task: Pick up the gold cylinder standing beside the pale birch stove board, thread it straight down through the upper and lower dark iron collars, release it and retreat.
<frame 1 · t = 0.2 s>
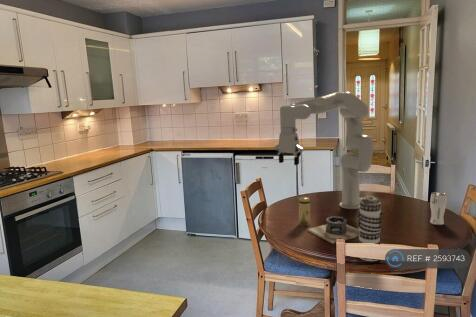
hand: (288, 163, 185), 31 cm above the table, fingers open, 9 cm apart
decorative candle: (368, 256, 148), on the table
beer glass: (436, 223, 180), on the table
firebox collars: (336, 225, 173), on the stove board, point 4 cm above the table
gold cylinder: (304, 224, 186), on the table
stove board: (336, 232, 173), on the table
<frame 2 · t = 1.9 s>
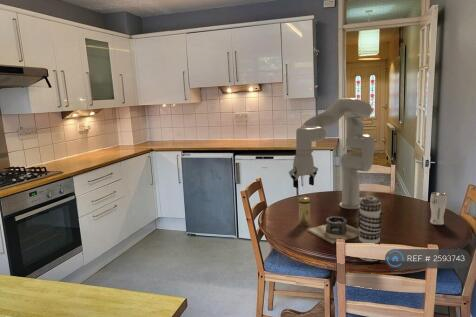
hand: (303, 186, 182), 20 cm above the table, fingers open, 9 cm apart
nothing on the table moved.
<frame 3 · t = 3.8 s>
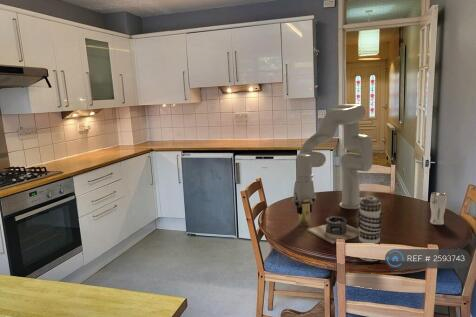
hand: (304, 212, 185), 7 cm above the table, fingers closed on gold cylinder, 5 cm apart
gold cylinder: (304, 224, 186), on the table, touching gripper
everything else where it was.
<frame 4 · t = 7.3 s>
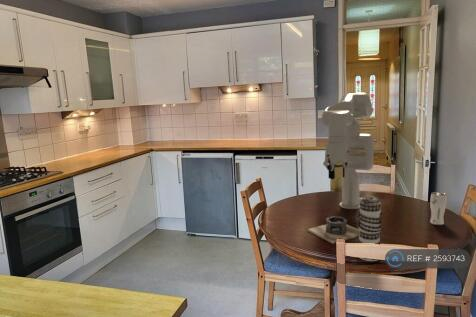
hand: (336, 177, 168), 27 cm above the table, fingers closed on gold cylinder, 5 cm apart
gold cylinder: (336, 190, 170), point 21 cm above the table, touching gripper
everything else where it was.
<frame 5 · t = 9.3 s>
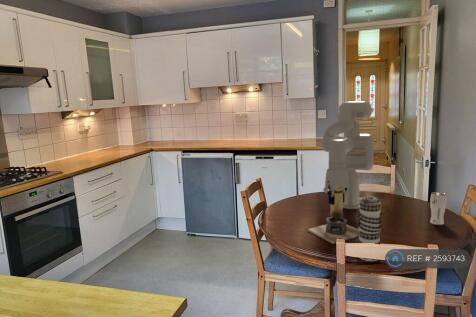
hand: (336, 202, 171), 15 cm above the table, fingers closed on gold cylinder, 5 cm apart
gold cylinder: (336, 215, 172), point 9 cm above the table, touching gripper
everything else where it was.
when the fingers open (8 cm above the table, at t = 11.1 s): gold cylinder stays where it is, resting on stove board.
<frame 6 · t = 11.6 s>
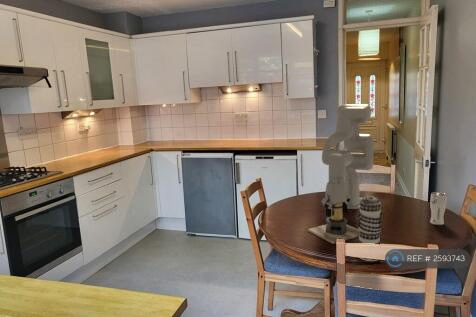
hand: (336, 214, 172), 9 cm above the table, fingers open, 9 cm apart
gold cylinder: (336, 230, 173), point 1 cm above the table, touching stove board
everything else where it was.
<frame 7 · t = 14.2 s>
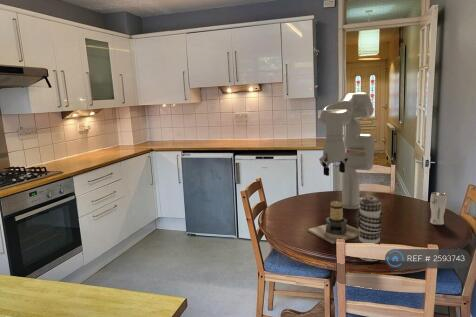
hand: (334, 173, 171), 28 cm above the table, fingers open, 9 cm apart
nothing on the table moved.
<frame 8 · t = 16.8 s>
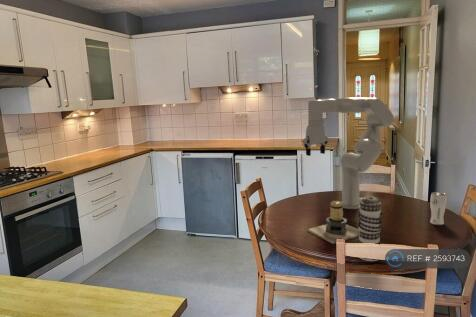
hand: (315, 154, 196), 33 cm above the table, fingers open, 9 cm apart
nothing on the table moved.
at the end: gold cylinder 0.0 cm off-centre on the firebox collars, point 1.0 cm above the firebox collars's base; gold cylinder tilted 0°; the gripper is holding nothing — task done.
